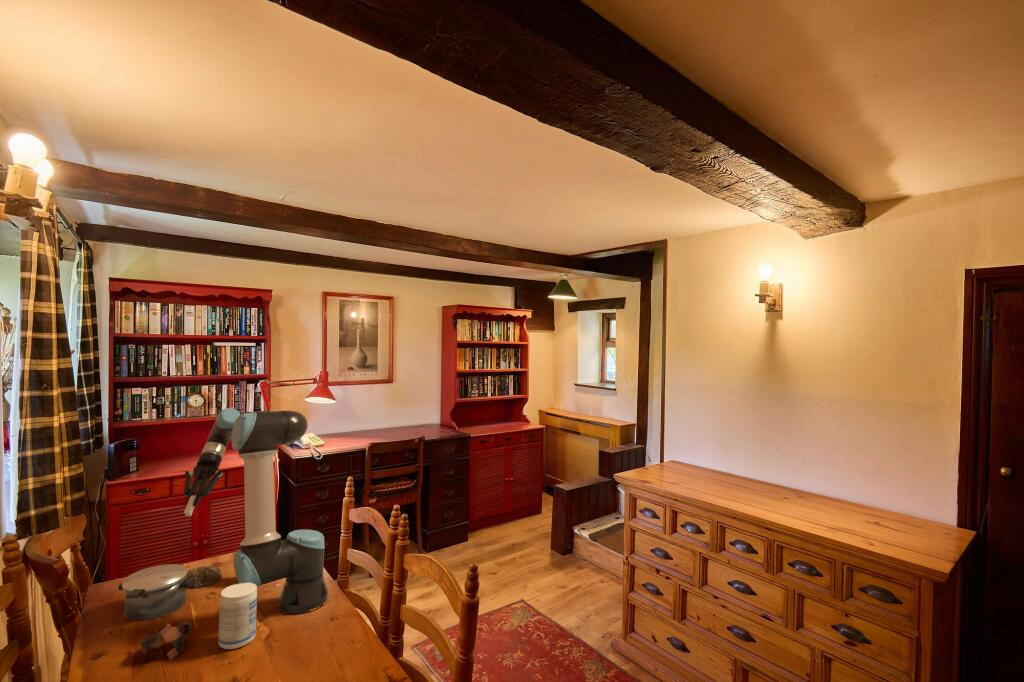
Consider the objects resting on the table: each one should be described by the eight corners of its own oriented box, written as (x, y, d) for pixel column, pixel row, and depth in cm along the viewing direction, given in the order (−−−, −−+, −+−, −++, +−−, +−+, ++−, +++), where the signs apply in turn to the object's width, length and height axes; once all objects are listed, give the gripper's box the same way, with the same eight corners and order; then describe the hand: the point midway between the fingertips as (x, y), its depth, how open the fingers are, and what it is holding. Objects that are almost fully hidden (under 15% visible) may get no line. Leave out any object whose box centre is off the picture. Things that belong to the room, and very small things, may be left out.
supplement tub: (256, 644, 138) (259, 592, 138) (218, 655, 133) (220, 601, 133) (254, 627, 146) (256, 578, 146) (217, 636, 141) (219, 586, 141)
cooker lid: (162, 597, 144) (162, 593, 144) (100, 599, 142) (100, 595, 142) (197, 567, 165) (197, 563, 165) (143, 568, 163) (144, 564, 163)
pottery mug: (161, 669, 127) (146, 642, 127) (144, 674, 131) (129, 648, 131) (204, 634, 138) (190, 609, 137) (187, 639, 142) (173, 615, 141)
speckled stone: (179, 579, 175) (180, 565, 175) (218, 569, 183) (219, 556, 183) (185, 592, 166) (186, 578, 166) (226, 582, 174) (227, 568, 174)
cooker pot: (176, 619, 149) (177, 590, 149) (102, 622, 146) (104, 592, 147) (204, 591, 166) (205, 565, 166) (138, 593, 163) (140, 567, 164)
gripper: (232, 461, 190) (210, 518, 173) (196, 462, 188) (170, 519, 171) (226, 451, 184) (204, 508, 168) (190, 451, 182) (163, 509, 166)
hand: (187, 514), depth 169 cm, fingers closed
